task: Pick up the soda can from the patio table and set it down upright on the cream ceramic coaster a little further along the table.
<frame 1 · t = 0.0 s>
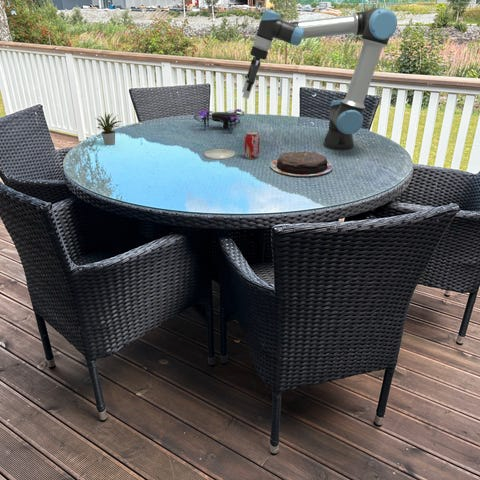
hand: (245, 95, 212), 28 cm above the table, tool tilted 20°, fingers open, 13 cm apart
chocolate cake: (301, 168, 207), on the table
coaster: (219, 154, 223), on the table
drone: (218, 129, 269), on the table
house plant: (108, 145, 239), on the table
soda can: (251, 157, 220), on the table
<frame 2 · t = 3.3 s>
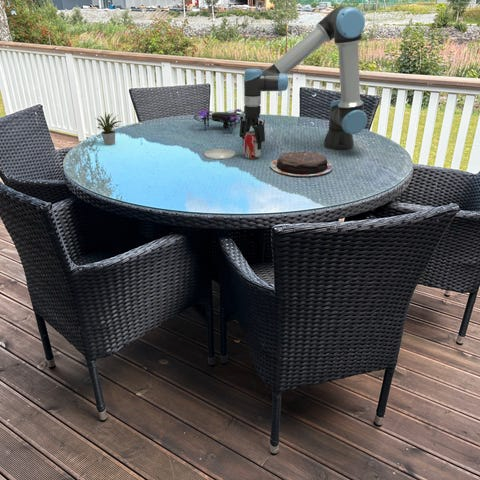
hand: (251, 154, 219), 2 cm above the table, tool pointing down, fingers closed on soda can, 7 cm apart
soda can: (251, 157, 220), on the table, touching gripper
everything else where it was.
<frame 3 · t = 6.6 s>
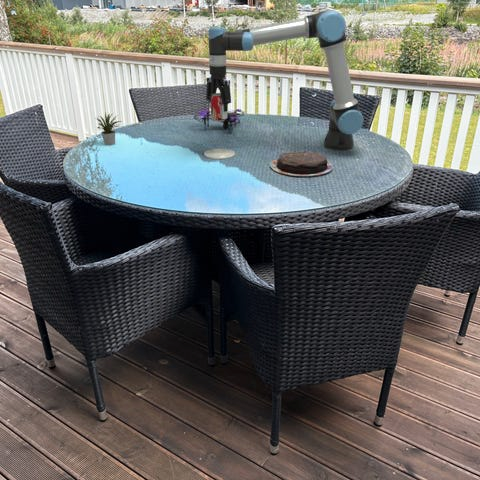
hand: (218, 117, 215), 18 cm above the table, tool pointing down, fingers closed on soda can, 7 cm apart
soda can: (218, 120, 216), point 16 cm above the table, touching gripper
everything else where it was.
when the fingers open (4 cm above the table, at t = 9.8 s): soda can drops 2 cm, resting on coaster.
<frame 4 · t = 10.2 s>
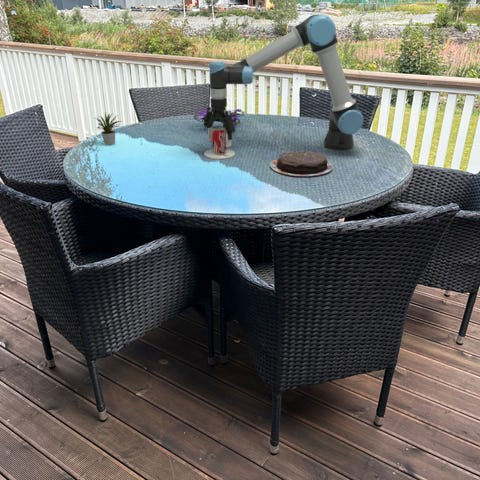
hand: (219, 143, 221), 5 cm above the table, tool pointing down, fingers open, 12 cm apart
soda can: (220, 153, 223), point 1 cm above the table, touching coaster
everything else where it was.
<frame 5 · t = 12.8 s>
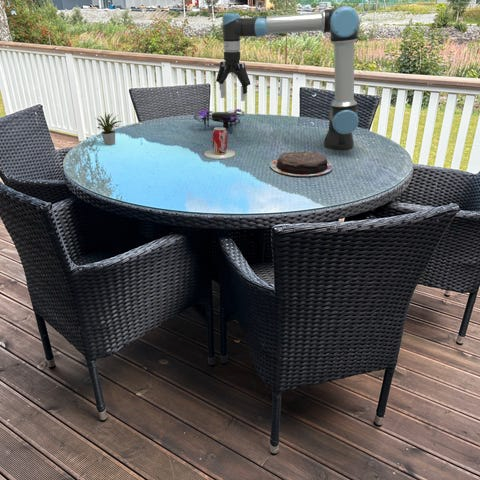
hand: (233, 99, 218), 25 cm above the table, tool pointing down, fingers open, 13 cm apart
nothing on the table moved.
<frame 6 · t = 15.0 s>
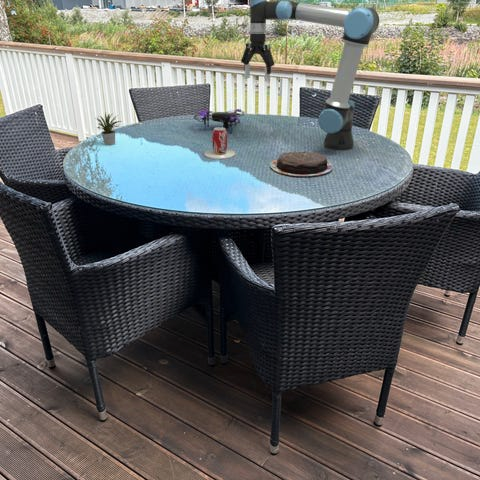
hand: (257, 79, 229), 32 cm above the table, tool pointing down, fingers open, 13 cm apart
nothing on the table moved.
at the end: soda can 0.2 cm from the coaster (horizontally); soda can tilted 1°; soda can point 0.6 cm above the table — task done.
